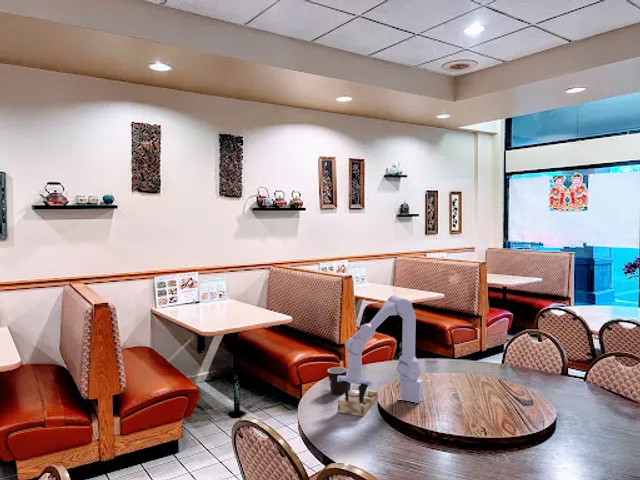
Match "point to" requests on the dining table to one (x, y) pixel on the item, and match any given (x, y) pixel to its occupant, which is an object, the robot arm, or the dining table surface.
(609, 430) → the dining table surface
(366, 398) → the rack
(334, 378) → the coffee mug
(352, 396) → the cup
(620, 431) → the dining table surface
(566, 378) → the dining table surface
